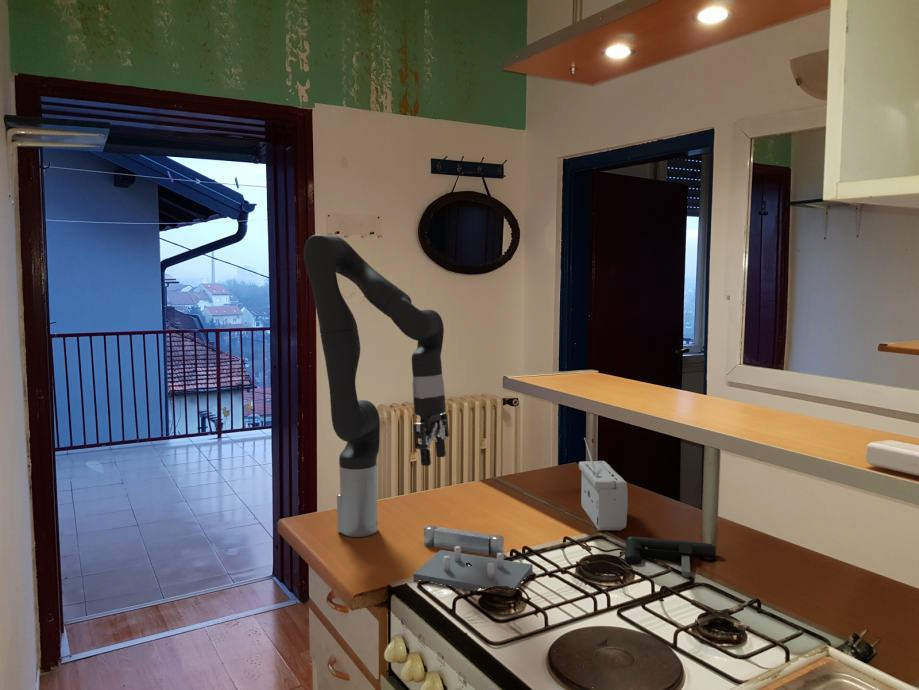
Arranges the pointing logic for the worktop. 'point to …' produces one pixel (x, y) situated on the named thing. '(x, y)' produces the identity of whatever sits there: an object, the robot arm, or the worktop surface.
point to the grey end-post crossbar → (464, 540)
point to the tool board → (472, 571)
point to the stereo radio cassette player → (603, 495)
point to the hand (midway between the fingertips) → (433, 460)
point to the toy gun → (666, 551)
